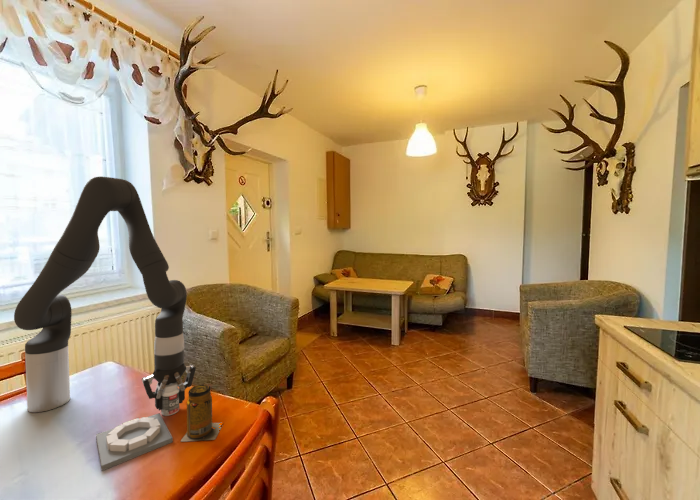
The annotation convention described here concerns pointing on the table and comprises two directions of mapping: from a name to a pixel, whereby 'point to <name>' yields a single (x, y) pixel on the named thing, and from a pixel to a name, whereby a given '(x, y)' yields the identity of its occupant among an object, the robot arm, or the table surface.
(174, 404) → the pill bottle
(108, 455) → the socket board
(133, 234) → the robot arm
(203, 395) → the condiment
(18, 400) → the table surface
